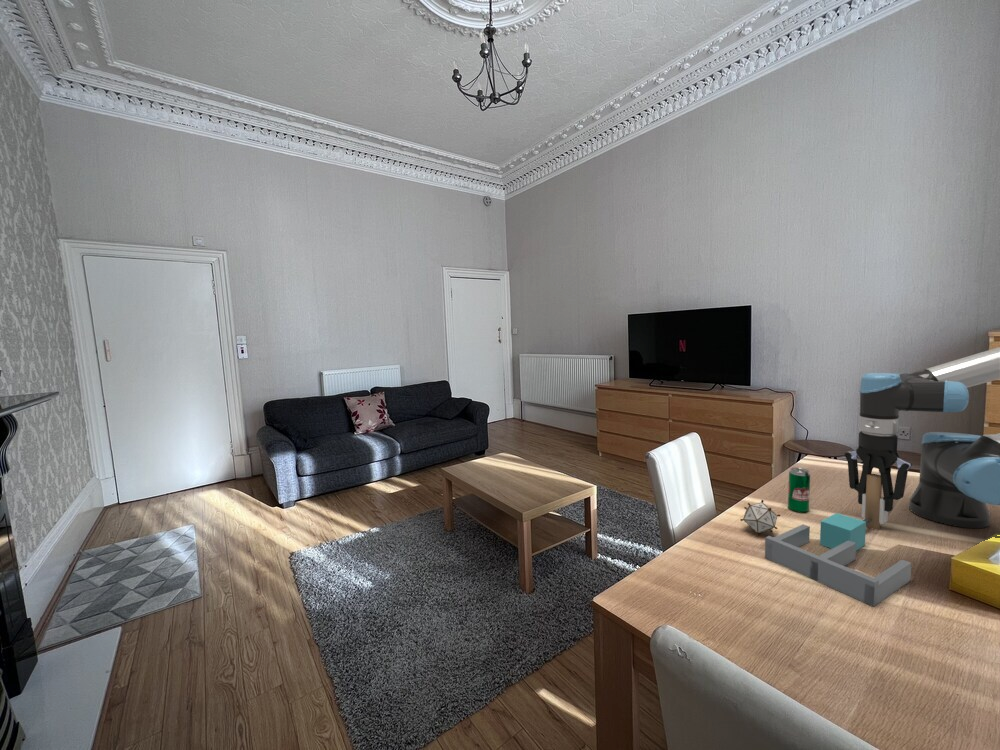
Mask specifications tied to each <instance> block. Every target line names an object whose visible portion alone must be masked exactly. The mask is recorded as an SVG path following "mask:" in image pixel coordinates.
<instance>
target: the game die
mask: <svg viewBox="0 0 1000 750" xmlns="http://www.w3.org/2000/svg"><path fill="white" fill-rule="evenodd" d="M747 505H748V506H747V507H746V506H744V510H745V511H744V512H745V513H744V516H743V518H740V519H739V521H740V522H745V523H746V524H747V525H748V526H749V528H751V529H752V530H753V531H754V532H756V536H758V537H759V536H760V534H762V533H765V532H770V533H771V534H772V533H773V530H774V529H775V530H778V527H777V526H776V523H777V520H778V517H781V514H777V513H775V512H774V511H773V510H772V507H768V505H766V504H765V503H764V500H763V499H761V501H760V502H757V503H752V504H751V503H750V502H747Z"/></svg>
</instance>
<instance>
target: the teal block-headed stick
mask: <svg viewBox="0 0 1000 750" xmlns="http://www.w3.org/2000/svg"><path fill="white" fill-rule="evenodd" d="M882 493H883V488H882V482H881V475H880V474H878V473H877V474H876V473H871V474H867V481H866V505H865V518H863V519H857V518H856V517H851V516H848V515H845V514H841V513H837V512H836V513H834V514H832V515H830V516H828V517H826V518H825V519H822V520H820V536H819V537H820V538H819V539H820V540H819V545H821V546H823V547H826V548H828V549H829V548H830V550H831V549H833V548H835V547H837V546H839V545H840V544H842V543H844V542H846V541H848V540H849V541H852V542H854V543H856V552H857V551H859V550H860V549H862V548H863V547H864V546H866V531H867V530H866V529H867V527H869V528H868V529H870V528H873V529H872V530H875V529H878V530H880V529H881V523H879V512H880V499H881V498H882ZM879 528H880V529H879Z"/></svg>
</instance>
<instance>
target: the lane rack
mask: <svg viewBox="0 0 1000 750" xmlns="http://www.w3.org/2000/svg"><path fill="white" fill-rule="evenodd" d="M810 530H811V527H810V526H809V525H806V524H800V525H798V526H796V527H794V528H792V529H790V530H787V531H785V532H783V533H781V534H779V535H776V536H774V537H773V536H771V535H768V536H766V537H765V539H764V541H765V542H764V544H765V545H764V558H765V559H767V560H769V561H772V562H773V563H776V564H778V565H781V567H784V568H787V569H789V570H791V571H794V572H796V573H798V574H800V575H802V576H805V577H807V578H808V579H809V578H810V579H811V580H813V581H816V582H818V583H820V584H822V585H825V586H826V587H829V588H831V589H834V590H835V591H837V592H840V593H842V594H844V595H846V596H849V597H851V598H853V599H855V600H857V601H859V602H862V603H864V604H866V605H869V606H871V607H873V608H874V607H875V606H877V605H878V604H880V603H881V602H883V601H884V600H885V599H888V598H889V596H891V595H892V594H894V593H895V592H897V591H898V590H899V589H901V588H902V587H904V586H905V585H906V584H908V583H909V582H910V581H911V577H912V575H911V574H912V573H911V572H912V562H910V561H908V560H904V559H900V560H899V561H897V562H896V563H895V564H893V565H892V566H890V567H887V569H885V570H883V571H882V572H880V573H879V574H877V575H876V576H874V577H872V576H870V575H867V574H865V573H863V572H859V571H857V570H855V569H852V568H850V567H847V565H849V564H851V562H854V561H856V554H857V553H856V552H857V551H856V543H854V542H852V541H849V540H848V541H846V542H844V543H842V544H840V545H839V546H837V547H835V548H833V549H831V548H830V550H827V551H826V552H824V553H822V554H819V555H817V554H815V553H813V552H811V551H807V550H805V549H804V548H801V546H804V545H806V544H807V543H810Z"/></svg>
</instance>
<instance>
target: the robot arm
mask: <svg viewBox="0 0 1000 750" xmlns="http://www.w3.org/2000/svg"><path fill="white" fill-rule="evenodd" d="M860 380H861V381H860V385H859V386H860V387H859V416H858V417H859V419H858V430H859V432H858V443H857V444H858V447H857V448H856V450H853V451H847V452H844V457H845V459H846V461H847V469H848V470H847V471H848V482H849V488H850V489H853V490H855V491H856V492H857V503H858V504H859V505H861V518H862V519H865V505H866V481H867V474H873V469H874V468H875V469H878V473H879V475H881V482H882V493H883V497H881V499H880V512H879V523H880V525H883V524H885V523H887V522H888V518H889V517H888V515H889V513H891V512H892V511H893V509H894V501H898V500H900V499H902V498H904V495H905V490H906V483H907V478H908V473H909V470H910V469H911V467H913V463H912V462H910V461H905V460H903V459H901V458H900V456H899V454H898V442H899V441H898V438H899V437H898V435H897V434H898V433H899V417H900V416H899V415H900V411H902V412H927V413H928V412H933V413H942V414H943V413H945V414H946V413H959V412H962V411H964V410H966V408H967V406H968V405H969V401H970V393H969V389H968V388H972V387H974V386H977V385H983V384H985V383H986V384H987V383H990V382H993V381H997V380H1000V346H998V347H995V348H991V349H987V350H985V351H982V352H978V353H975V354H971V355H968V356H965V357H962V358H961V357H960V358H958V359H954V360H952V361H947V362H946V363H944V362H943V363H941V364H937V365H935V366H932V367H927V368H925V369H921V370H917V371H914V372H911V373H906V372H905V373H893V372H869V373H865V374H863V375H862V377H861V379H860ZM921 440H922V441H921V443H920V445H921V446H920V449H921V450H920V464H919V465H920V466H919V481H918V484H917V487H916V488H915V490H914V492H913V493H912V494H911V497H910V498H909V503H908V509H909V508H910V509H911V510H912V511H913V512H915V513H916V514H918V515H920V516H919V517H921V516H922V517H921V518H923V517H925V518H924V519H926V518H927V519H926V520H928V519H930V520H929V521H932V520H933V522H935V521H936V522H935V523H938V522H940V523H939V524H942V523H944V525H947V524H948V526H952V525H953V527H958V526H959V527H958V528H968V529H983V528H987V527H989V526H990V523H991V514H990V512H989V511H990V510H989V509H988V507H987V505H993V506H1000V432H999V433H996V434H991V433H990V434H983V435H978V434H969V433H959V432H945V431H929V432H926V433H924V434H923V435H922V439H921ZM858 459H860V460H861V462H862V467H861V468H862V471H861V475H860V478H859V465H858ZM895 463H896V467H897V469H898V470H897V473H896V477H895V483H894V486H893V480H892V474H891V472H892V469H891V467H892V466H893V465H894V464H895ZM893 487H894V488H893ZM910 509H909V510H910ZM912 511H911V512H912ZM913 512H912V513H913ZM915 513H914V514H915ZM916 514H915V515H916ZM918 515H917V516H918Z"/></svg>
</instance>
